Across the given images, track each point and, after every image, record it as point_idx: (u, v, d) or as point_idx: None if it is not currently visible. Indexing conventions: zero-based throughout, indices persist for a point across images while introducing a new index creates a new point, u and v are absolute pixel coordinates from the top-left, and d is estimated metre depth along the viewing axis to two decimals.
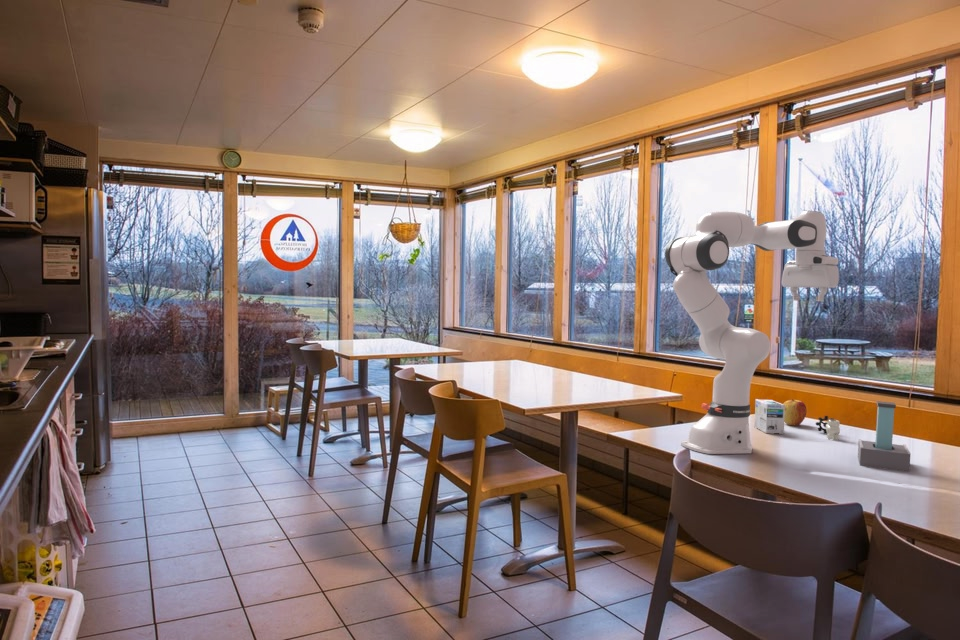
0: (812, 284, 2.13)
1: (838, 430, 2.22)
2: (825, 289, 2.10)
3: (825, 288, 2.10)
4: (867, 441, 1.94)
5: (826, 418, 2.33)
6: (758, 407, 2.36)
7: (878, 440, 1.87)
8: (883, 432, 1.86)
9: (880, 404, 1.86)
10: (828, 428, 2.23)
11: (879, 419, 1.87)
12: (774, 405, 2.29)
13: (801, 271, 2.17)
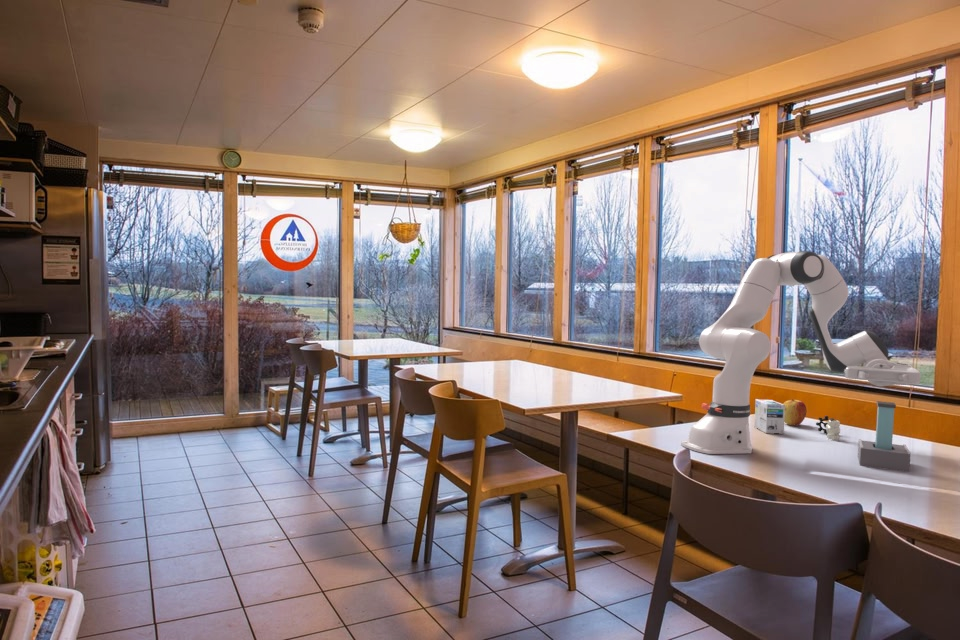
0: (895, 370, 2.01)
1: (838, 430, 2.22)
2: (907, 378, 1.98)
3: None
4: (867, 441, 1.94)
5: (826, 418, 2.33)
6: (758, 407, 2.36)
7: (878, 440, 1.87)
8: (883, 432, 1.86)
9: (880, 404, 1.86)
10: (828, 428, 2.23)
11: (879, 419, 1.87)
12: (774, 405, 2.29)
13: (875, 368, 2.07)
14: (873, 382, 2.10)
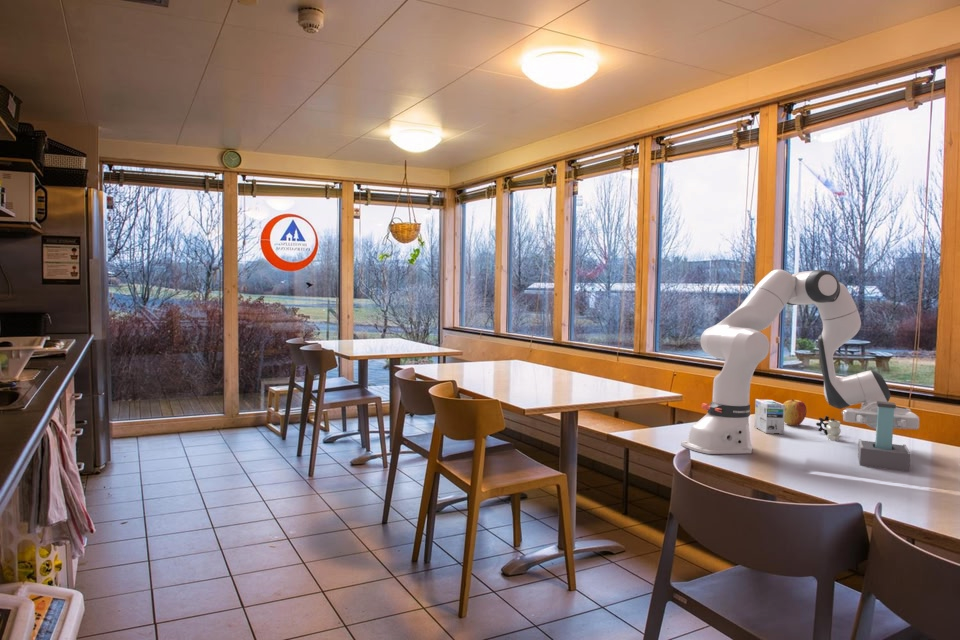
0: None
1: (839, 430, 2.21)
2: (905, 424, 1.95)
3: (905, 423, 1.95)
4: (867, 441, 1.94)
5: (827, 418, 2.32)
6: (758, 407, 2.36)
7: (878, 440, 1.87)
8: (883, 432, 1.86)
9: (880, 404, 1.86)
10: (829, 428, 2.23)
11: (879, 419, 1.87)
12: (774, 405, 2.29)
13: (873, 411, 2.04)
14: (871, 425, 2.06)
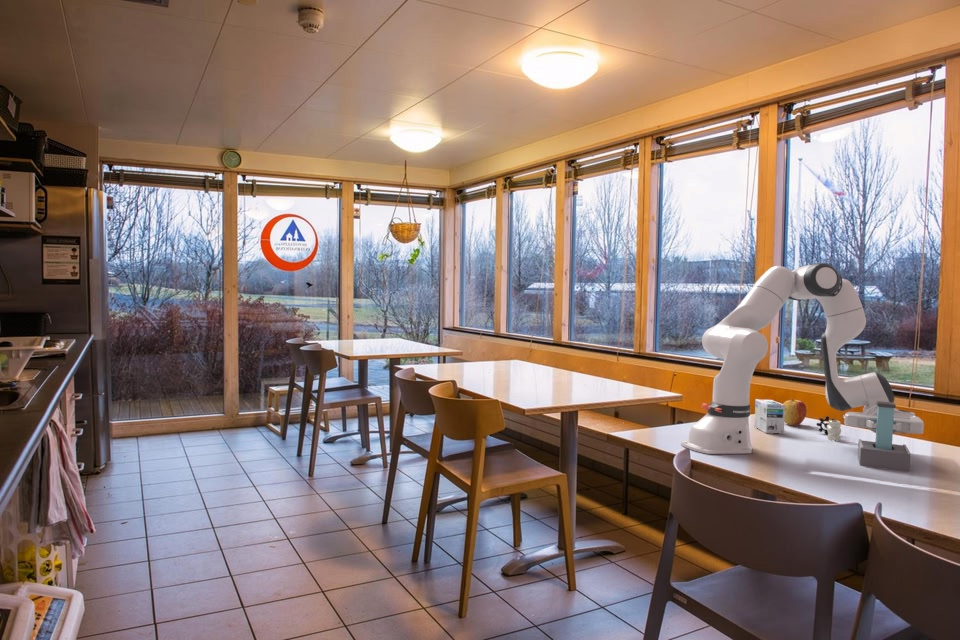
0: (896, 419, 1.90)
1: (839, 431, 2.21)
2: (901, 427, 1.88)
3: None
4: (867, 441, 1.94)
5: (827, 419, 2.32)
6: (758, 407, 2.36)
7: (878, 440, 1.87)
8: (883, 432, 1.86)
9: (880, 404, 1.86)
10: (829, 429, 2.22)
11: (879, 419, 1.87)
12: (774, 405, 2.29)
13: (875, 415, 1.96)
14: (874, 429, 1.99)
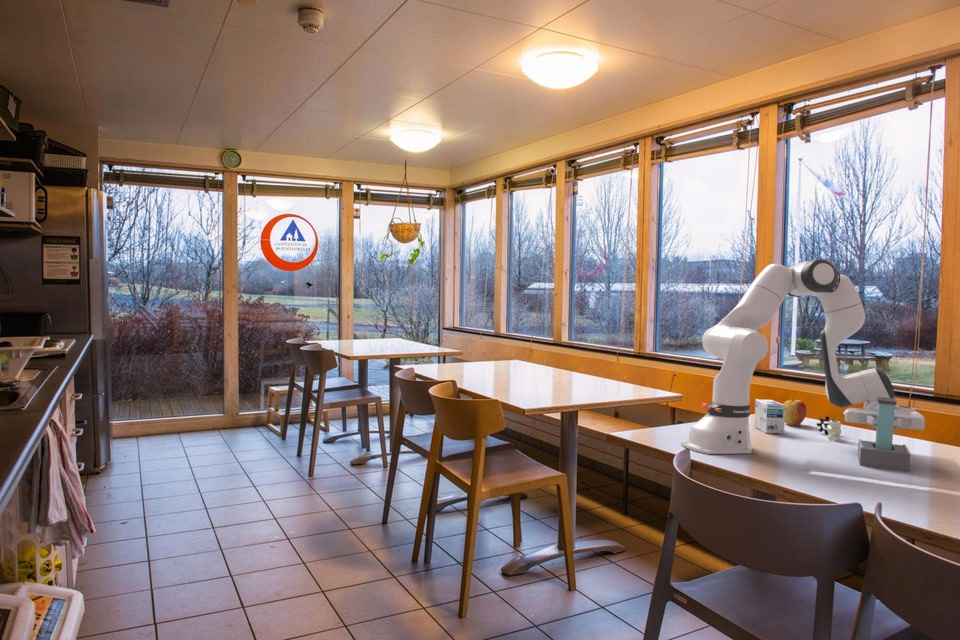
0: (897, 415, 1.89)
1: (839, 431, 2.21)
2: (902, 423, 1.87)
3: (901, 423, 1.87)
4: (867, 441, 1.94)
5: (827, 419, 2.31)
6: (758, 407, 2.36)
7: (878, 437, 1.86)
8: (883, 428, 1.85)
9: (881, 401, 1.85)
10: (829, 429, 2.22)
11: (879, 416, 1.85)
12: (774, 405, 2.29)
13: (876, 411, 1.95)
14: (874, 425, 1.98)
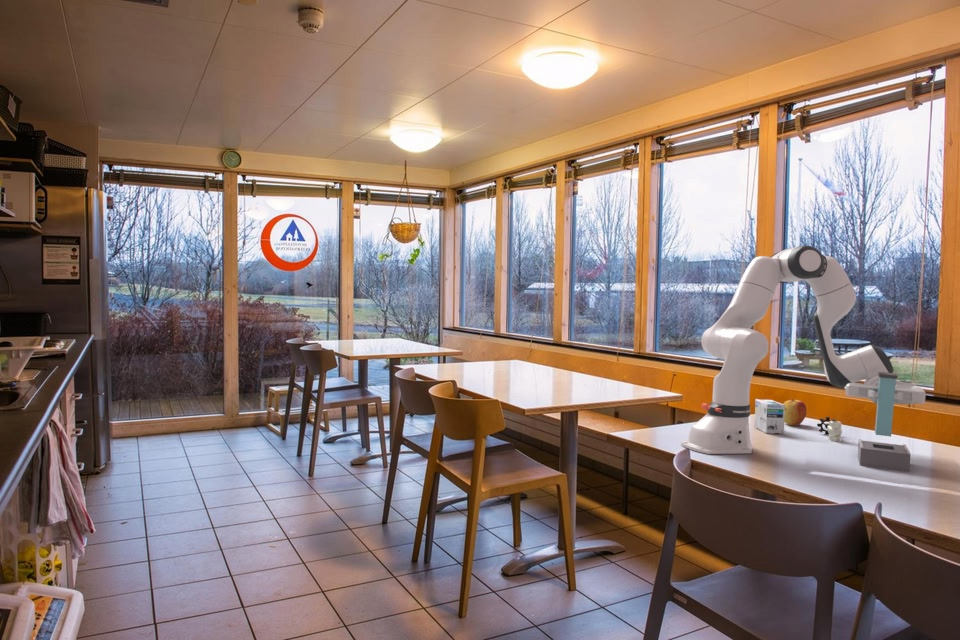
0: (898, 389, 1.89)
1: (840, 431, 2.20)
2: (902, 397, 1.88)
3: (902, 396, 1.88)
4: (867, 441, 1.94)
5: (827, 419, 2.31)
6: (758, 407, 2.36)
7: (879, 411, 1.87)
8: (884, 402, 1.86)
9: (882, 375, 1.85)
10: (830, 429, 2.21)
11: (880, 390, 1.86)
12: (774, 405, 2.29)
13: (877, 386, 1.96)
14: (875, 400, 1.98)
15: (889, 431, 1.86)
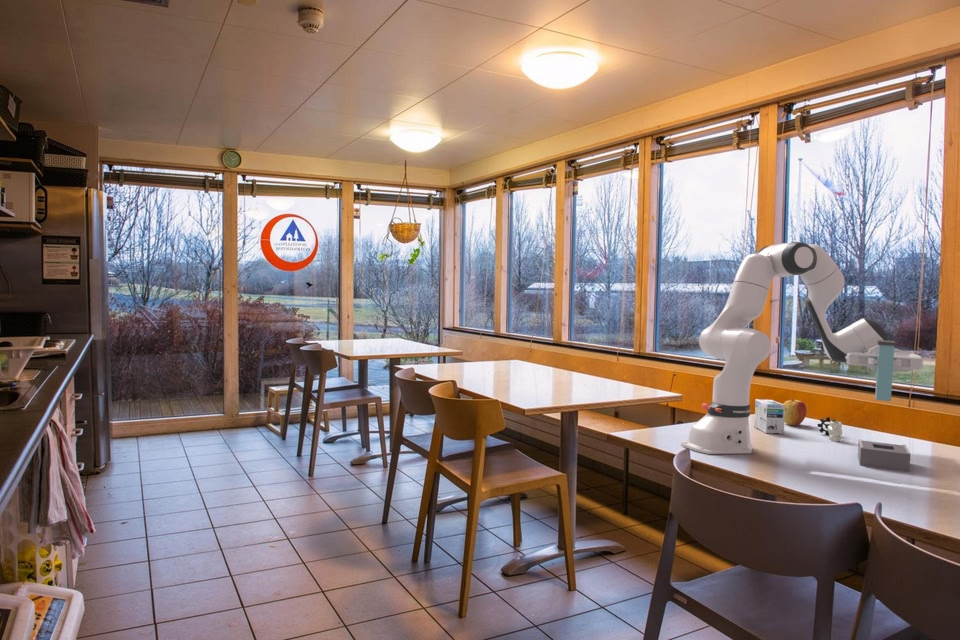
0: (897, 356, 1.98)
1: (840, 432, 2.20)
2: (901, 363, 1.96)
3: (901, 363, 1.97)
4: (867, 441, 1.94)
5: (828, 419, 2.30)
6: (758, 407, 2.36)
7: (879, 377, 1.95)
8: (883, 369, 1.94)
9: (881, 342, 1.94)
10: (830, 430, 2.21)
11: (880, 357, 1.95)
12: (774, 405, 2.29)
13: (876, 354, 2.04)
14: (874, 369, 2.07)
15: (889, 396, 1.94)
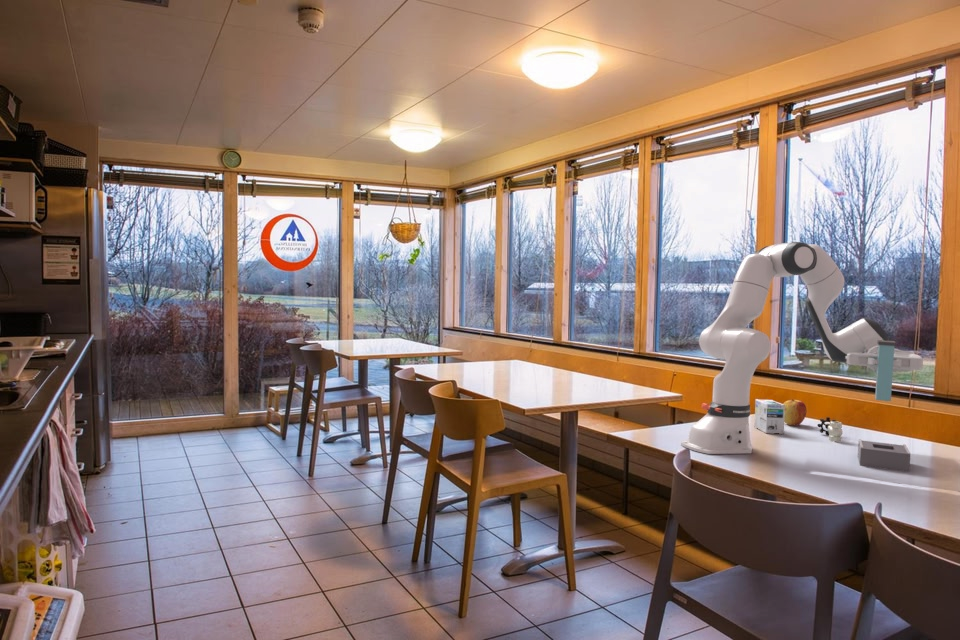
0: (897, 356, 1.98)
1: (841, 432, 2.19)
2: (901, 363, 1.96)
3: (901, 363, 1.97)
4: (867, 441, 1.94)
5: (828, 420, 2.30)
6: (758, 407, 2.36)
7: (879, 377, 1.95)
8: (883, 369, 1.94)
9: (881, 342, 1.94)
10: (830, 430, 2.21)
11: (880, 357, 1.95)
12: (774, 405, 2.29)
13: (876, 354, 2.04)
14: (874, 369, 2.07)
15: (889, 396, 1.94)
